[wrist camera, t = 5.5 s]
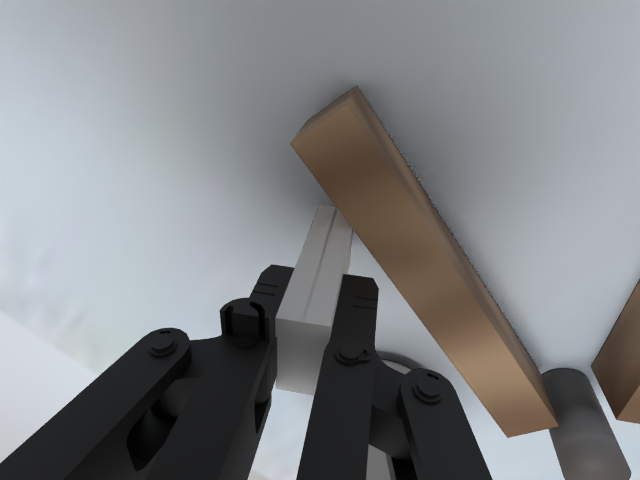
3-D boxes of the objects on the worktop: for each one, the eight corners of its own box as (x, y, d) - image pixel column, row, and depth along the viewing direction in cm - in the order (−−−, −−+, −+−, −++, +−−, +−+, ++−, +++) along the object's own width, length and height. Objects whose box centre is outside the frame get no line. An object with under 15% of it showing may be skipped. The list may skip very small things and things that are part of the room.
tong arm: (307, 119, 15) (290, 144, 13) (356, 85, 14) (346, 104, 12) (496, 386, 21) (507, 437, 18) (541, 374, 20) (558, 426, 17)
